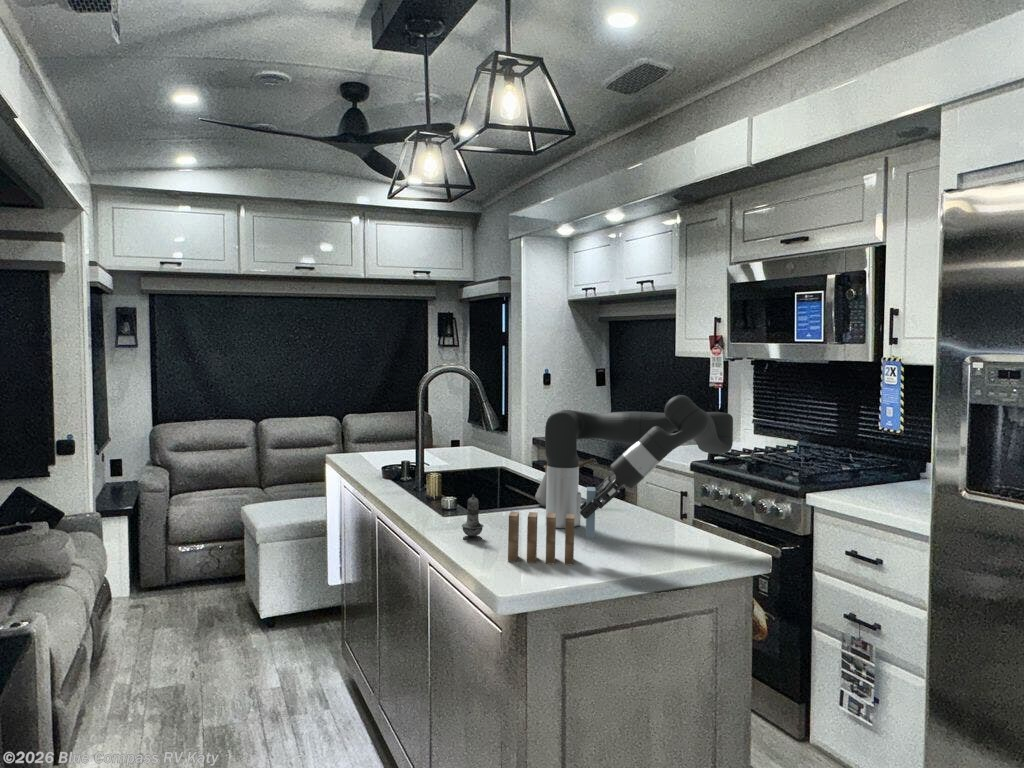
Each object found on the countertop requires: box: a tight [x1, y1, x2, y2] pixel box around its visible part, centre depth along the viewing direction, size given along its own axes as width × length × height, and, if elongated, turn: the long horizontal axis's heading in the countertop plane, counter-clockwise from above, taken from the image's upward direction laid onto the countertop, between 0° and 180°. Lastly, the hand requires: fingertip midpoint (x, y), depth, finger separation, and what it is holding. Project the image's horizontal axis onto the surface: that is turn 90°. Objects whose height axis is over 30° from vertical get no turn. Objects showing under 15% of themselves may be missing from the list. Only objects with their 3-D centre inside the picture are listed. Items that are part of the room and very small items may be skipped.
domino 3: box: [545, 513, 557, 564], centre depth 178 cm, size 2×5×11 cm, turn 174°
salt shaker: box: [461, 493, 485, 542], centre depth 197 cm, size 6×6×12 cm
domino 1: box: [507, 510, 520, 563], centre depth 179 cm, size 2×5×11 cm, turn 174°
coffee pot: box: [534, 457, 598, 508], centre depth 244 cm, size 21×12×15 cm, turn 112°
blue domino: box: [585, 486, 596, 539], centre depth 176 cm, size 2×5×11 cm, turn 174°
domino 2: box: [526, 511, 538, 564], centre depth 178 cm, size 2×5×11 cm, turn 174°
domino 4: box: [564, 514, 575, 565], centre depth 177 cm, size 2×5×11 cm, turn 174°
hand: (582, 512), depth 177 cm, fingers closed on blue domino, 5 cm apart
